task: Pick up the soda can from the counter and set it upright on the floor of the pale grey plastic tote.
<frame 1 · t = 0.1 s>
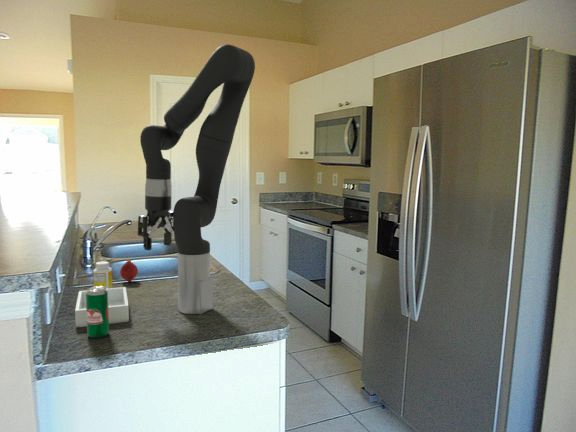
hand: (157, 247, 135), 17 cm above the worktop, tool pointing down, fingers open, 8 cm apart
soda can: (98, 335, 112), on the worktop
tote: (103, 313, 127), on the worktop
onion: (129, 282, 159), on the worktop
supplement bottle: (103, 294, 145), on the worktop
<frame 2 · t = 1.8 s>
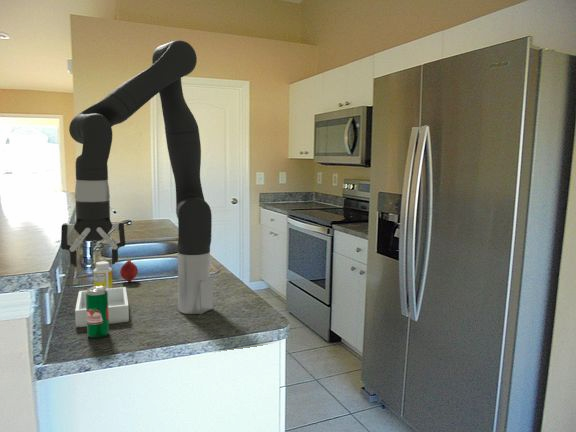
hand: (94, 264, 109), 18 cm above the worktop, tool pointing down, fingers open, 8 cm apart
nothing on the worktop moved.
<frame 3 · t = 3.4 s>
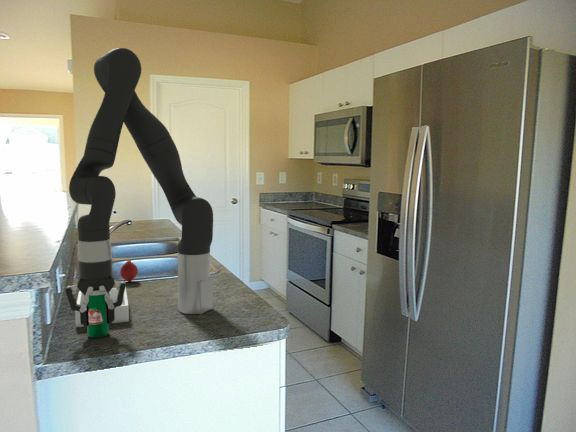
hand: (97, 323, 111), 3 cm above the worktop, tool pointing down, fingers closed on soda can, 5 cm apart
soda can: (98, 335, 112), on the worktop, touching gripper
everything else where it was.
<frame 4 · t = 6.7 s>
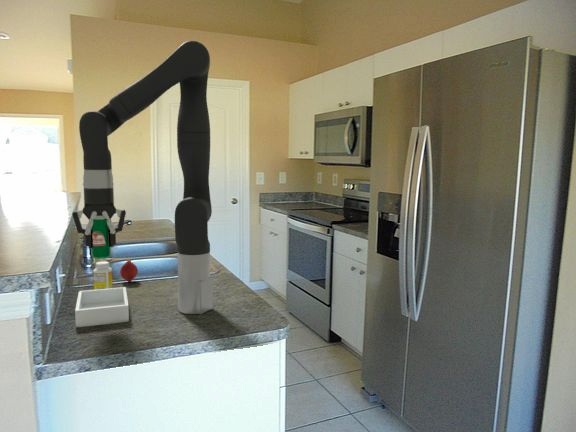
hand: (101, 247, 124), 19 cm above the worktop, tool pointing down, fingers closed on soda can, 5 cm apart
soda can: (101, 257, 125), point 16 cm above the worktop, touching gripper
everything else where it was.
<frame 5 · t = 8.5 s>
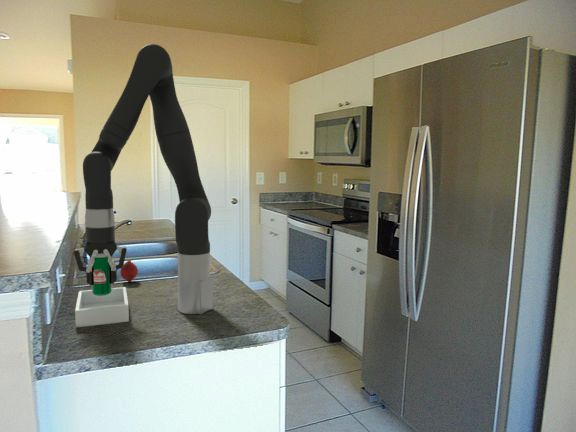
hand: (101, 283, 126), 9 cm above the worktop, tool pointing down, fingers closed on soda can, 5 cm apart
soda can: (102, 294, 126), point 5 cm above the worktop, touching gripper
everything else where it was.
when the fingers open (5 cm above the worktop, at t = 9.7 s): soda can drops 2 cm, resting on tote.
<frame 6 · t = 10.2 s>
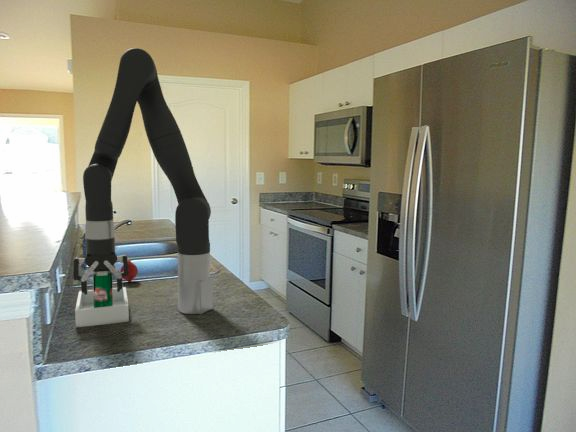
hand: (102, 292, 126), 6 cm above the worktop, tool pointing down, fingers open, 8 cm apart
soda can: (103, 311, 127), resting on tote
everything else where it was.
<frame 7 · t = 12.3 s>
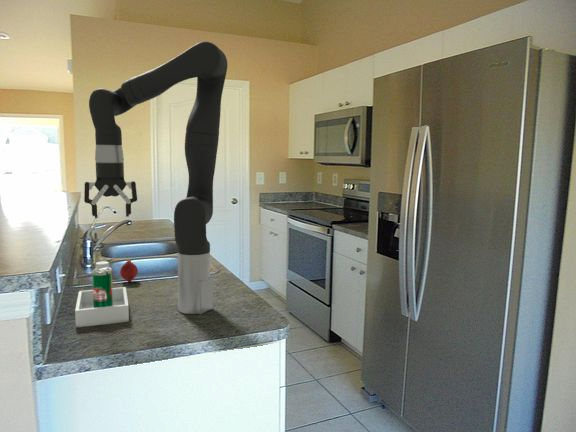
hand: (111, 217, 131), 27 cm above the worktop, tool pointing down, fingers open, 8 cm apart
nothing on the worktop moved.
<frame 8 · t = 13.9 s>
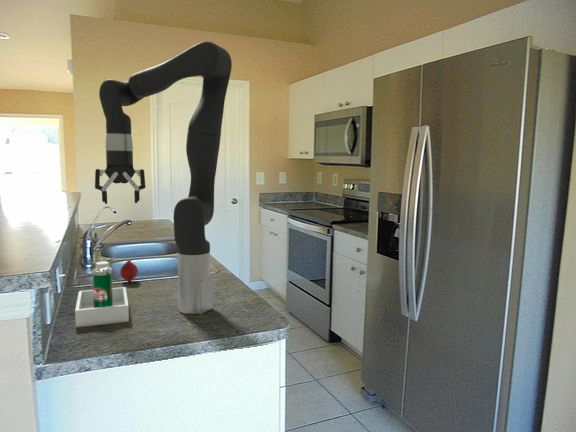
hand: (121, 203, 136), 30 cm above the worktop, tool pointing down, fingers open, 8 cm apart
nothing on the worktop moved.
at the end: soda can inside the target area on the tote (0.1 cm from its centre), point 0.4 cm above the tote's base; soda can tilted 0°; the gripper is holding nothing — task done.
